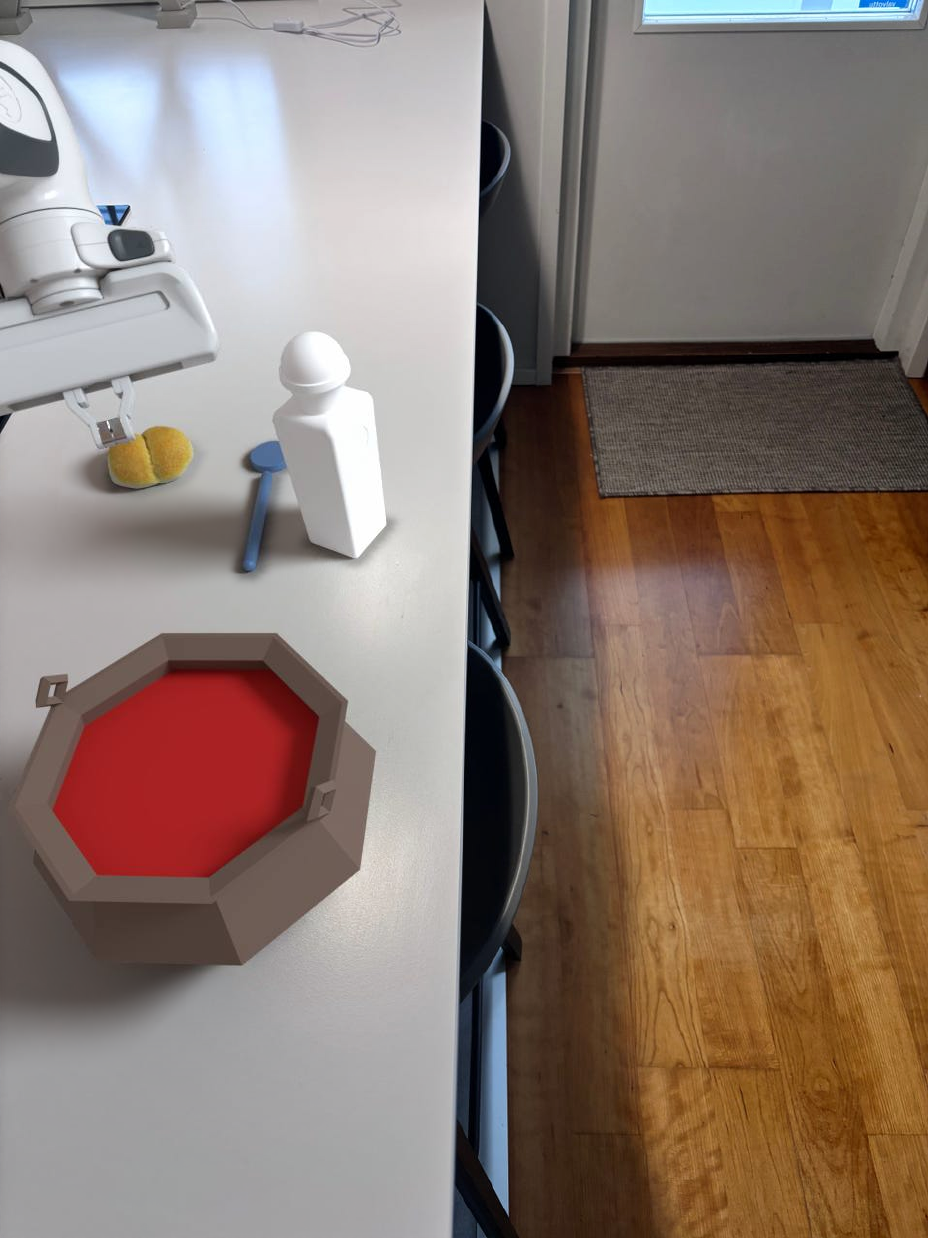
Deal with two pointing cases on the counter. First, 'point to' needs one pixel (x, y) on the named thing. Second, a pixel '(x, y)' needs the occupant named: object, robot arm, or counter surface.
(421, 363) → the counter surface
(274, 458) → the spoon
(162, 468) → the bread roll
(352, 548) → the white square bottle
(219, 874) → the octagonal pot
